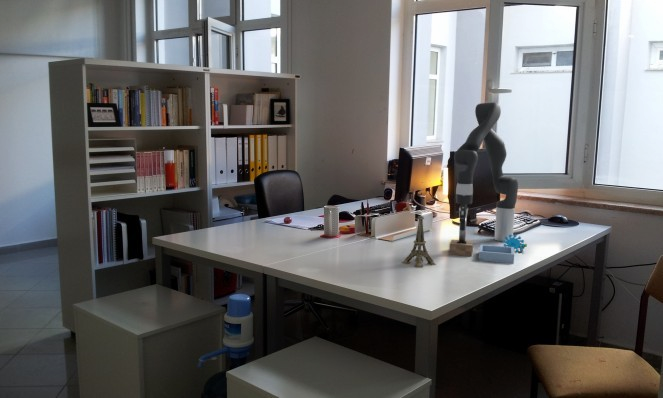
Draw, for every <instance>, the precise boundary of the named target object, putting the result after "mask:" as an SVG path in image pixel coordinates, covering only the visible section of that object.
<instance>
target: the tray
mask: <svg viewBox="0 0 663 398" xmlns="http://www.w3.org/2000/svg"><path fill="white" fill-rule="evenodd" d="M478 261H484V262H492V263H493V262H495V263H496V262H497V263H506V264H514V262H515V249H514V247H508V246H506V247H505V246H504V245H503V246H502V245H489V244H480V245H479V251H478Z"/></svg>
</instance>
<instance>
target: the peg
mask: <svg viewBox="0 0 663 398" xmlns="http://www.w3.org/2000/svg"><path fill="white" fill-rule="evenodd" d="M461 219H464V218H461ZM458 232H459V233H458V234H459V235H458V240H459V243H462V244H465V241H466V234H467V221H466V222H465V230H464V231H462V230H460V226H459V229H458Z"/></svg>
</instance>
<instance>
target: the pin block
mask: <svg viewBox="0 0 663 398" xmlns="http://www.w3.org/2000/svg"><path fill="white" fill-rule="evenodd" d="M473 250H474V241H473V240H465V244H462V243H459V239H451V241H450V243H449V253H448V255H453V256H465V257H472V255H473V252H474V251H473Z"/></svg>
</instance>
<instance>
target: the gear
mask: <svg viewBox="0 0 663 398" xmlns="http://www.w3.org/2000/svg"><path fill="white" fill-rule="evenodd" d="M511 236H512V235H509V238H510V239H508V237H507V236H506V237H505V239H506V240H507V241H505V240H503V241H502V243H503V246H505V247H514V250H515V253H519V251H521V252H522V251H523V250H524V249H525V248H527V246H528V244H527V243H524V242H525V241H524V239H522V237H521V236H520V235H519V236H518V237H517V234H514V233H513V238H511Z"/></svg>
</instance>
